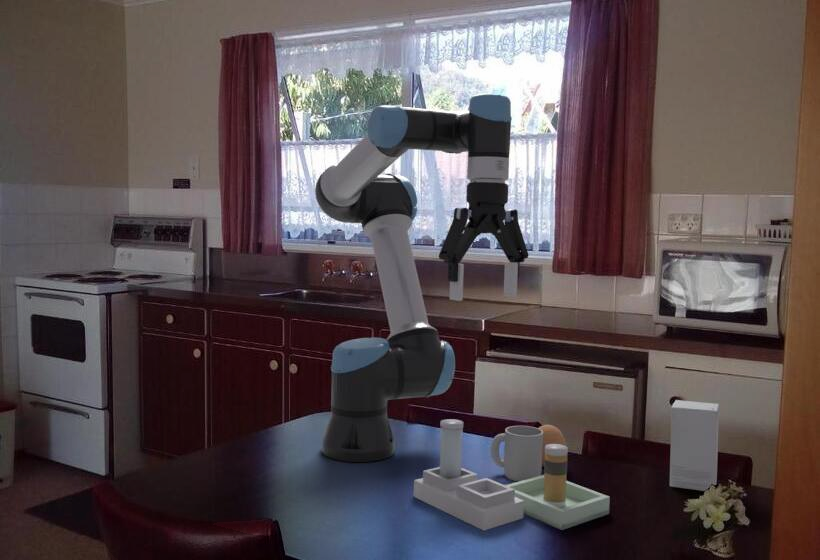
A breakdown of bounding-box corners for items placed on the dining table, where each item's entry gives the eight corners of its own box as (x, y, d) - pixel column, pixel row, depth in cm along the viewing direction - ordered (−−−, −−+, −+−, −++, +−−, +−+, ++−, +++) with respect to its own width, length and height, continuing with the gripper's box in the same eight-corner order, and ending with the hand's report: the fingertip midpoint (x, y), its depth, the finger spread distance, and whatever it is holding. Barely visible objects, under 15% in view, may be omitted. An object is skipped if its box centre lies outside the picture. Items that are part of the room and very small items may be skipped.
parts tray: (500, 503, 135) (500, 486, 135) (546, 489, 143) (547, 473, 143) (561, 530, 125) (562, 512, 124) (609, 513, 132) (609, 496, 132)
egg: (561, 474, 151) (563, 432, 151) (524, 469, 154) (526, 427, 153) (568, 464, 158) (570, 422, 157) (533, 458, 161) (534, 418, 160)
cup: (537, 484, 146) (539, 438, 145) (485, 477, 149) (487, 431, 148) (544, 472, 152) (546, 428, 152) (494, 466, 156) (495, 422, 155)
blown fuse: (538, 502, 134) (540, 446, 133) (553, 498, 136) (555, 442, 135) (555, 509, 131) (557, 451, 130) (570, 505, 133) (572, 448, 132)
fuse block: (413, 496, 138) (415, 420, 136) (452, 486, 143) (454, 413, 142) (483, 530, 124) (486, 445, 122) (523, 518, 129) (526, 436, 128)
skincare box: (717, 483, 148) (721, 403, 147) (714, 494, 142) (719, 411, 141) (671, 476, 152) (675, 398, 151) (666, 486, 146) (671, 405, 145)
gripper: (449, 178, 130) (445, 303, 132) (549, 184, 146) (545, 297, 148) (421, 179, 136) (418, 299, 138) (520, 185, 152) (516, 293, 153)
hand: (483, 298), depth 143 cm, fingers open, 13 cm apart
